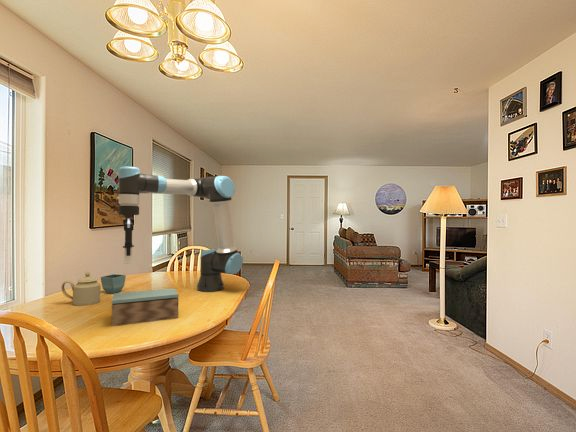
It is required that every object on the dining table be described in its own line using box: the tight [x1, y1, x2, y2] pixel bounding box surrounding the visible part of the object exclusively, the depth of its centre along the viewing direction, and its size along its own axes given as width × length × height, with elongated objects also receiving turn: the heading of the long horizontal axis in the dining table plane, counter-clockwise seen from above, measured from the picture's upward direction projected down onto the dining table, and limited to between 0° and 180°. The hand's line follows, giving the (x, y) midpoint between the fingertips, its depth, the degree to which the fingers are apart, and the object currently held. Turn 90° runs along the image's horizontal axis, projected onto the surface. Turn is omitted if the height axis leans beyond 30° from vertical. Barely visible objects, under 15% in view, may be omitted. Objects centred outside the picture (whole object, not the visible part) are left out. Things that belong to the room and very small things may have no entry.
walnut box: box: [111, 297, 179, 327], centre depth 128 cm, size 24×14×8 cm, turn 117°
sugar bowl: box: [61, 270, 102, 307], centre depth 146 cm, size 15×11×15 cm
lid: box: [111, 287, 179, 305], centre depth 128 cm, size 24×14×1 cm, turn 117°
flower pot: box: [100, 273, 127, 294], centre depth 167 cm, size 9×9×9 cm
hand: (128, 263), depth 124 cm, fingers closed
